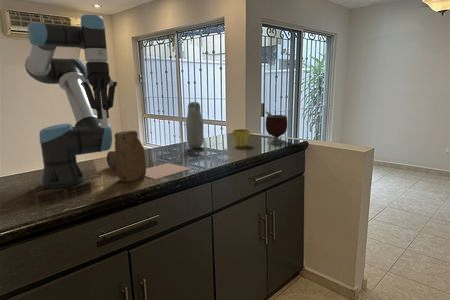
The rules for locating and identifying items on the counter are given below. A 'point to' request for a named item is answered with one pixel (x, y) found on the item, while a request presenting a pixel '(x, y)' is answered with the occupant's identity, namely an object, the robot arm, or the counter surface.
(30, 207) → the counter surface
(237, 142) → the plant pot
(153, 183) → the counter surface
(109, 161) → the mottled brown rounded slab
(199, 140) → the grey bottle
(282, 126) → the mate gourd
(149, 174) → the pad
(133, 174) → the block
